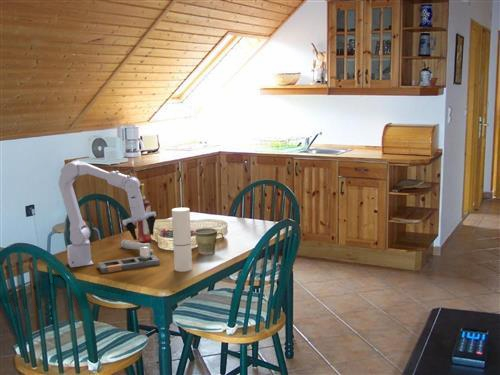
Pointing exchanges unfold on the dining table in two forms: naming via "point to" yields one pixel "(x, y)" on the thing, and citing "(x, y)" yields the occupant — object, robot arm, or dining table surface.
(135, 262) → the grey slotted tray
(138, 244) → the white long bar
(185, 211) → the cylindrical container
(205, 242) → the ceramic cup
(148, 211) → the liquor
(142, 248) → the peg
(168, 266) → the dining table surface
